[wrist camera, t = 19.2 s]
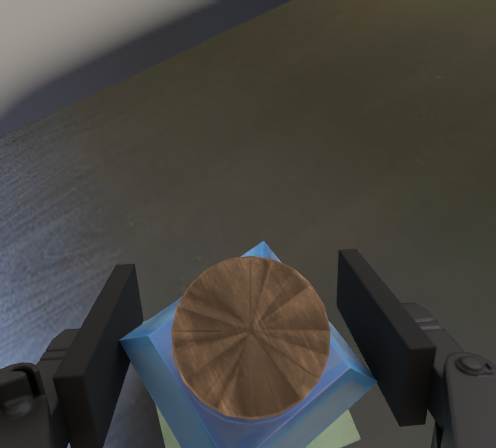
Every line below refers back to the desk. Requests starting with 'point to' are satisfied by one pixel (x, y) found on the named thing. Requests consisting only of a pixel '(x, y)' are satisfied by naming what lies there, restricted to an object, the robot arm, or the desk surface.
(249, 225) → the desk surface
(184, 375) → the perfume bottle
